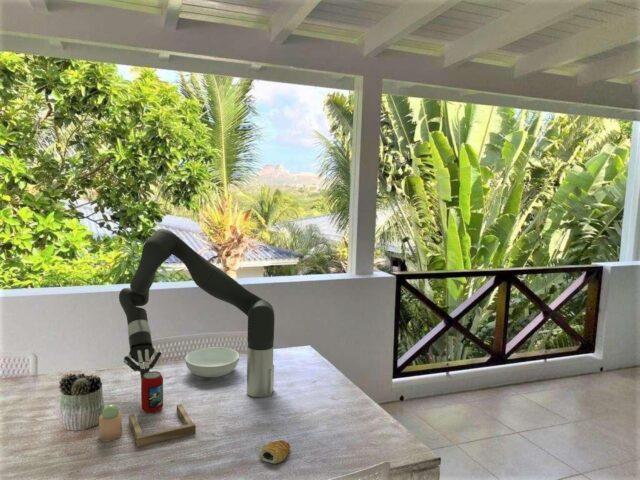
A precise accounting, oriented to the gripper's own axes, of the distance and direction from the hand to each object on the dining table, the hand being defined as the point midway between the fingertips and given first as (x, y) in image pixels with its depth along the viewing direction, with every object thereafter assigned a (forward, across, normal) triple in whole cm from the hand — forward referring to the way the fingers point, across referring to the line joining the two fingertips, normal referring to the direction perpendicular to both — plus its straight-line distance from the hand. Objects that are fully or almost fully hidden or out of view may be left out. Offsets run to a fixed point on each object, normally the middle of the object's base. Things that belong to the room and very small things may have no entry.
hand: (145, 380), depth 160 cm
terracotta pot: (+19, +13, +9) cm, 25 cm away
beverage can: (+11, 0, +1) cm, 11 cm away
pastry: (+41, -25, +31) cm, 57 cm away
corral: (+20, 0, +10) cm, 22 cm away
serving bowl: (-4, -28, -14) cm, 31 cm away
